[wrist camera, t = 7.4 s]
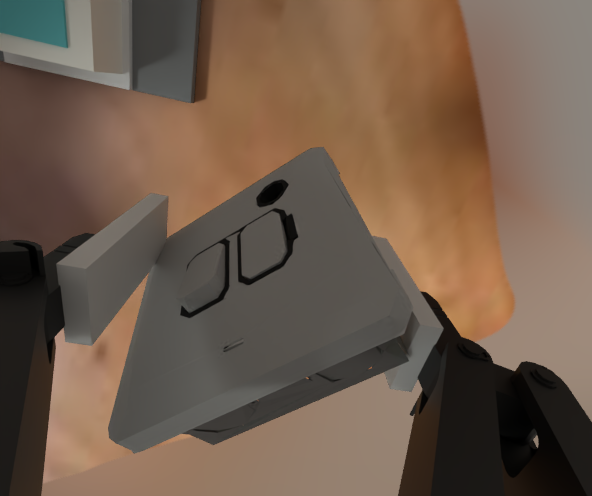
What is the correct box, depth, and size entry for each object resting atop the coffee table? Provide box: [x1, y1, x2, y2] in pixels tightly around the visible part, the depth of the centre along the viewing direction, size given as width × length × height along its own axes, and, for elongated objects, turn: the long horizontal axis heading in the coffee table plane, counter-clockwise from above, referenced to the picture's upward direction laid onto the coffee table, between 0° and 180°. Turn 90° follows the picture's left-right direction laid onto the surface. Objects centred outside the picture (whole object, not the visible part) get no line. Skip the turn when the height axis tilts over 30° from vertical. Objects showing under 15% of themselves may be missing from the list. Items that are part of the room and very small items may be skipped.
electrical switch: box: [108, 147, 413, 453], centre depth 12 cm, size 9×5×9 cm, turn 122°
